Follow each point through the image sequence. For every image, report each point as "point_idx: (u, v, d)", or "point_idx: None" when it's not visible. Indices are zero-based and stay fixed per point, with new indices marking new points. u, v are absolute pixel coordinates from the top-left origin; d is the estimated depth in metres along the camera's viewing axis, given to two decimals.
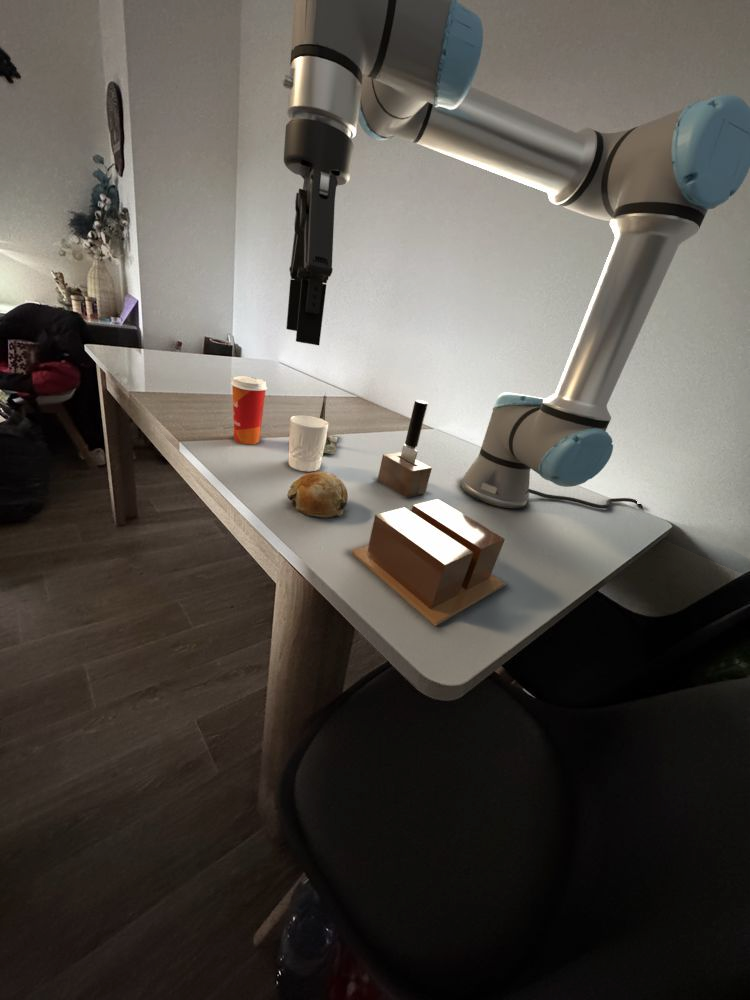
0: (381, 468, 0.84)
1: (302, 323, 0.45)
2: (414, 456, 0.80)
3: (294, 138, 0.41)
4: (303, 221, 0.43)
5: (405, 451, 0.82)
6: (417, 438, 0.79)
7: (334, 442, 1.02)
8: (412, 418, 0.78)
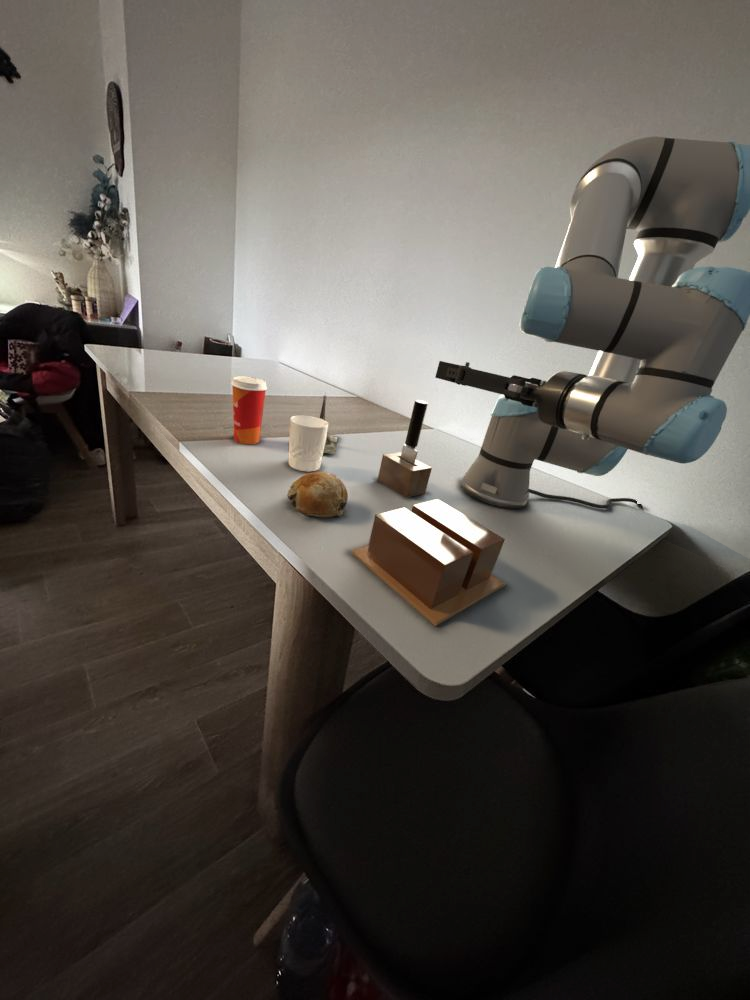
0: (381, 468, 0.84)
1: None
2: (414, 456, 0.80)
3: None
4: None
5: (405, 451, 0.82)
6: (417, 438, 0.79)
7: (334, 442, 1.02)
8: (412, 418, 0.78)
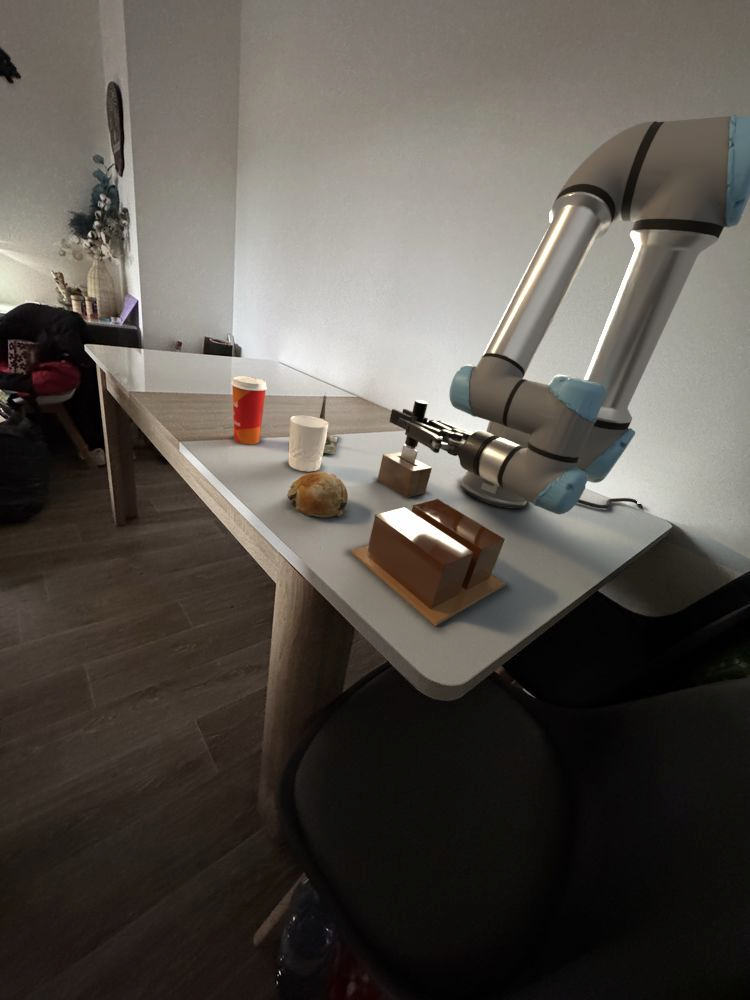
0: (381, 468, 0.84)
1: None
2: (414, 456, 0.80)
3: None
4: None
5: (405, 451, 0.82)
6: None
7: (334, 442, 1.02)
8: None
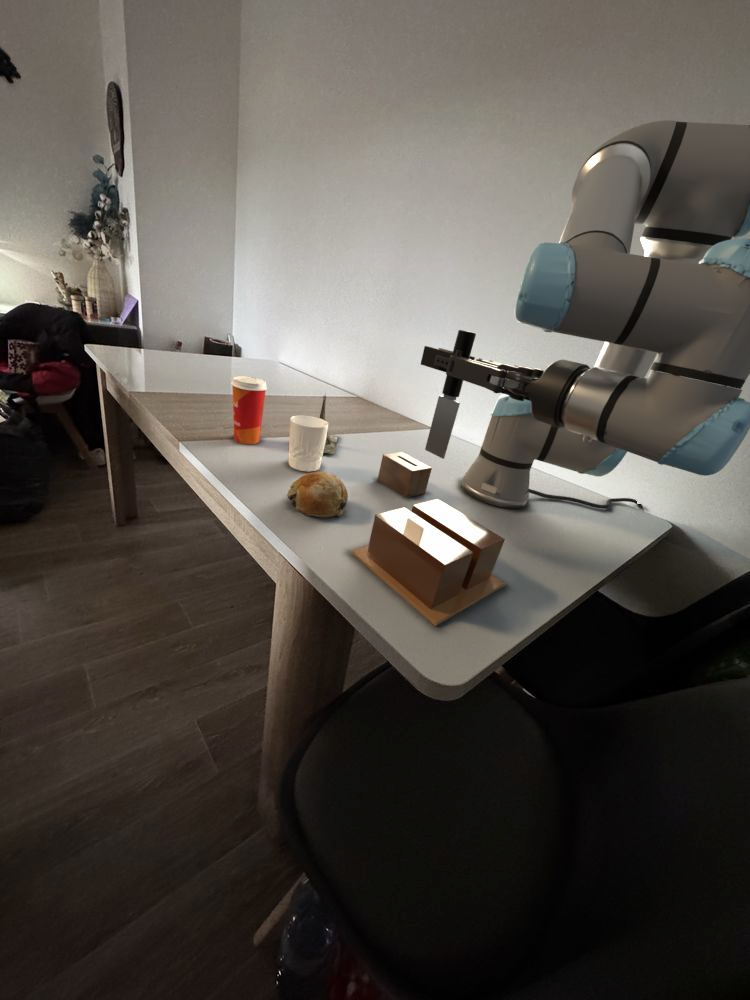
0: (381, 468, 0.84)
1: None
2: (455, 410, 0.59)
3: None
4: None
5: (441, 405, 0.61)
6: (460, 384, 0.58)
7: (334, 442, 1.02)
8: None
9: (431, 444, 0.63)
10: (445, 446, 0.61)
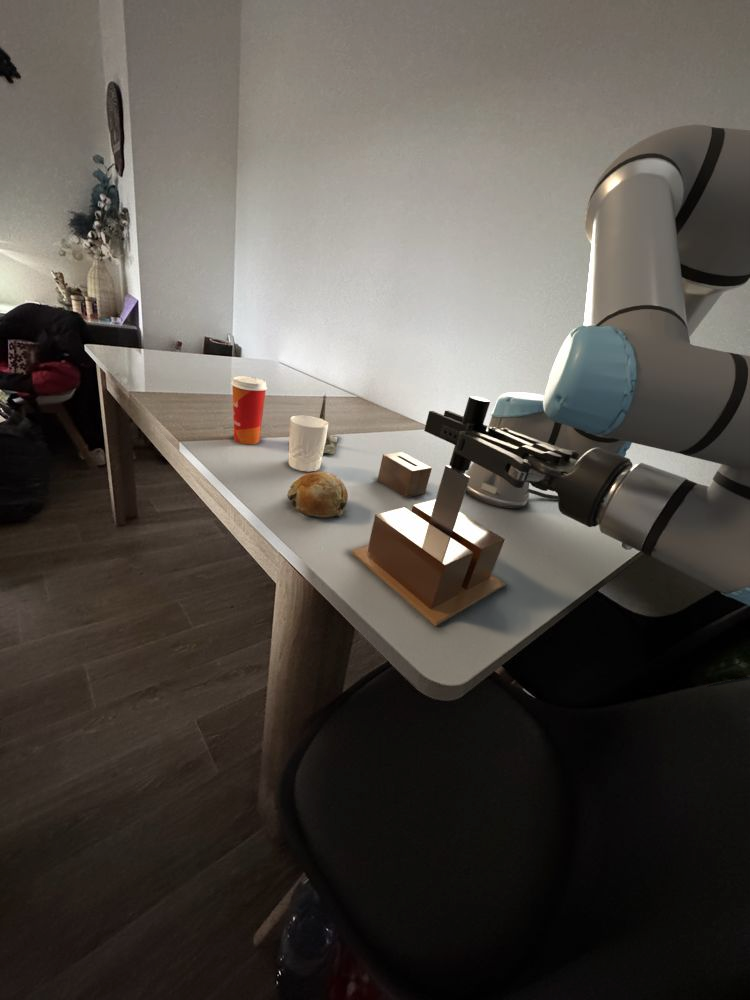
0: (381, 468, 0.84)
1: None
2: (464, 485, 0.51)
3: None
4: None
5: (448, 477, 0.53)
6: None
7: (334, 442, 1.02)
8: None
9: (436, 518, 0.55)
10: (453, 523, 0.53)
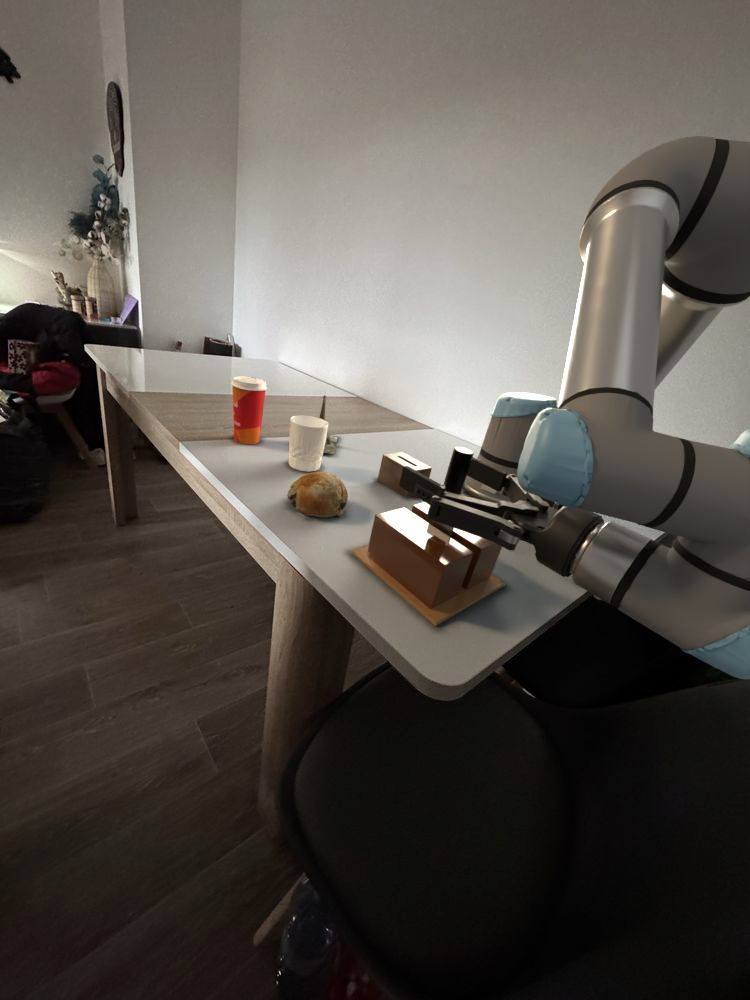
0: (381, 468, 0.84)
1: None
2: (450, 528, 0.54)
3: None
4: None
5: None
6: None
7: (334, 442, 1.02)
8: (449, 475, 0.51)
9: None
10: None
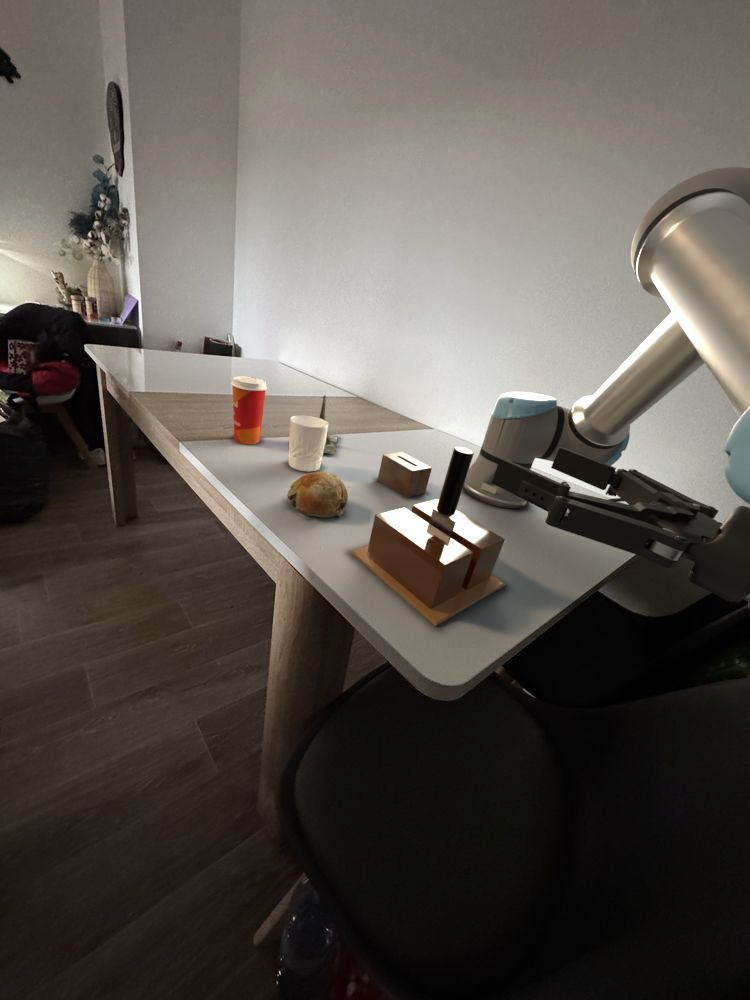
0: (381, 468, 0.84)
1: None
2: (450, 528, 0.54)
3: None
4: None
5: (435, 519, 0.56)
6: (456, 503, 0.53)
7: (334, 442, 1.02)
8: (449, 475, 0.51)
9: None
10: None
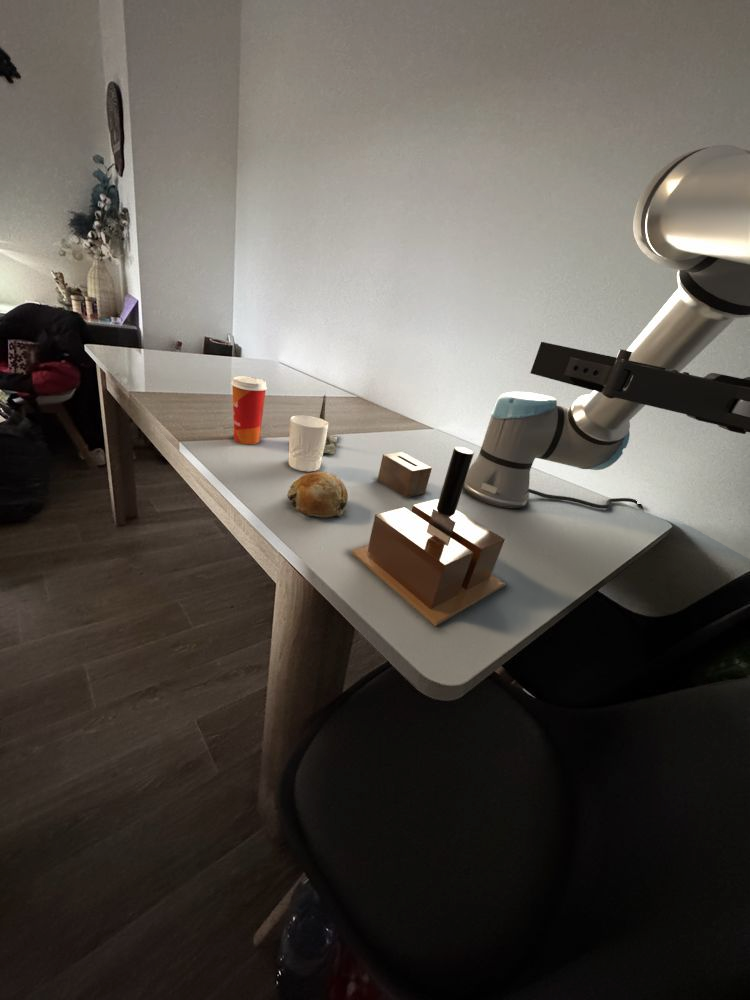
0: (381, 468, 0.84)
1: None
2: (450, 528, 0.54)
3: None
4: None
5: (435, 519, 0.56)
6: (456, 503, 0.53)
7: (334, 442, 1.02)
8: (449, 475, 0.51)
9: None
10: None
